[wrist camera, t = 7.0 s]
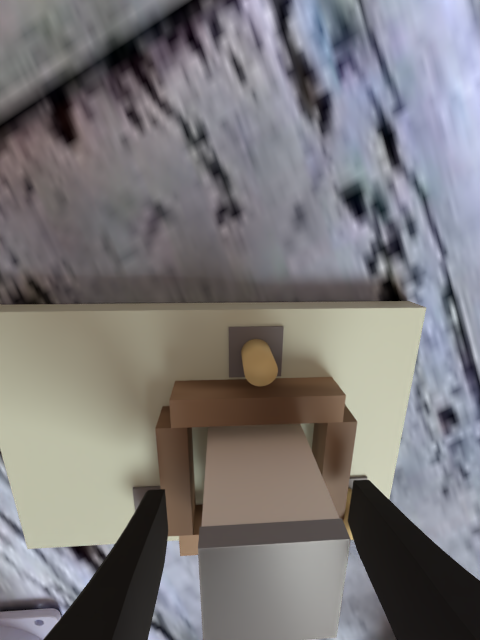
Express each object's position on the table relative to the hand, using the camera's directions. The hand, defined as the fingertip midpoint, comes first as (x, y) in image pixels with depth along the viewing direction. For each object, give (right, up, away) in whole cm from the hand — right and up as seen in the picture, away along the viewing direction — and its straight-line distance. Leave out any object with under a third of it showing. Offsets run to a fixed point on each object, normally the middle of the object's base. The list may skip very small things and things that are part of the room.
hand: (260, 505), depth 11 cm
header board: (-2, +2, +3) cm, 4 cm away
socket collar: (0, +1, +3) cm, 3 cm away
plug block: (0, +1, +2) cm, 3 cm away
